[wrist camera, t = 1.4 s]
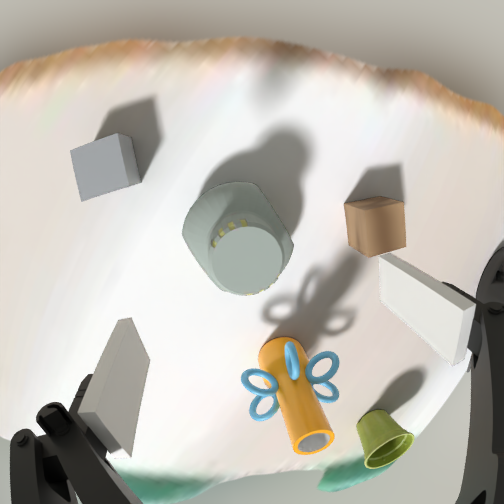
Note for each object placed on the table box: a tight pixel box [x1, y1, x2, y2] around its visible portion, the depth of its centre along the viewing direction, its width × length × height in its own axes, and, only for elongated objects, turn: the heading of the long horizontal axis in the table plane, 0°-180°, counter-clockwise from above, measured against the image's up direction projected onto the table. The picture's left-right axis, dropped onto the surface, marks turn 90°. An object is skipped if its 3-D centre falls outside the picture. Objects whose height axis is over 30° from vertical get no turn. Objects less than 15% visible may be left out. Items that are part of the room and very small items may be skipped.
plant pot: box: [357, 409, 414, 469], centre depth 41 cm, size 9×9×9 cm
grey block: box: [70, 133, 141, 202], centre depth 26 cm, size 5×5×5 cm
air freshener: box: [182, 182, 294, 296], centre depth 27 cm, size 11×8×10 cm
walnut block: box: [344, 196, 406, 258], centre depth 31 cm, size 5×5×5 cm
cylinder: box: [241, 337, 339, 455], centre depth 30 cm, size 12×10×15 cm
